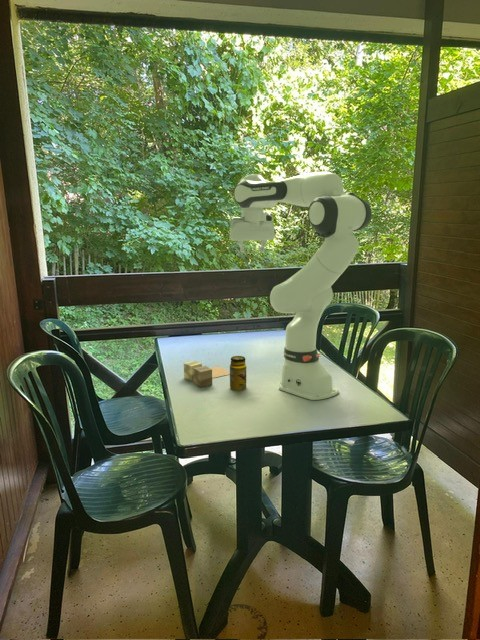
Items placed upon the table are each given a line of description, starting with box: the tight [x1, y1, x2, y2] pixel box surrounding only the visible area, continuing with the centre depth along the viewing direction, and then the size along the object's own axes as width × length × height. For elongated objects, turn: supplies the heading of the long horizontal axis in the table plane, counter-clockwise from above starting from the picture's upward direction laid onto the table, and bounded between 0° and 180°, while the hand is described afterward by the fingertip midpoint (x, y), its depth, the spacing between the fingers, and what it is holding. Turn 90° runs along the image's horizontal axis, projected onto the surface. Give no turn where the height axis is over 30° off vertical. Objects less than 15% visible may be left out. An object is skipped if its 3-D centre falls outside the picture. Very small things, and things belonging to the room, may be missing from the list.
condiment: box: [229, 355, 247, 392], centre depth 157 cm, size 7×8×12 cm
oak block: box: [183, 360, 203, 382], centre depth 168 cm, size 5×5×6 cm
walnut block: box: [193, 365, 213, 388], centre depth 161 cm, size 5×5×6 cm
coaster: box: [209, 365, 230, 380], centre depth 175 cm, size 11×11×1 cm
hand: (252, 251), depth 177 cm, fingers open, 8 cm apart
